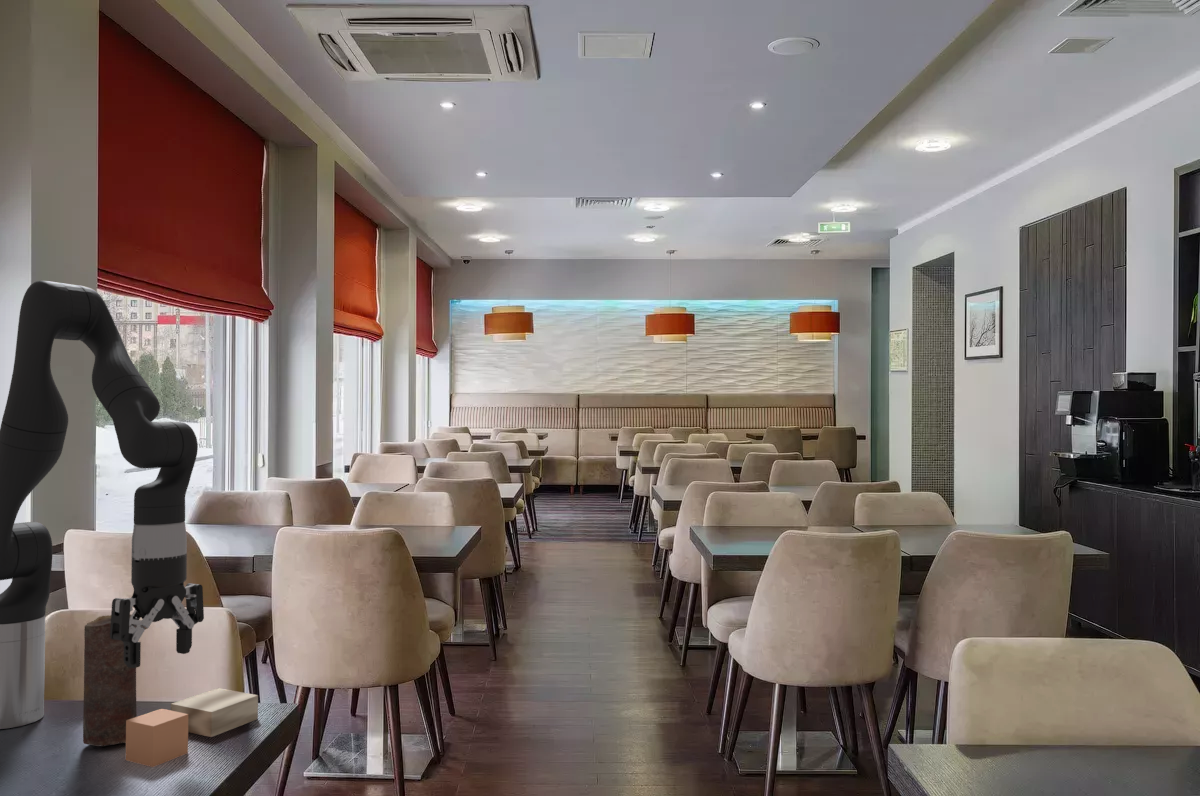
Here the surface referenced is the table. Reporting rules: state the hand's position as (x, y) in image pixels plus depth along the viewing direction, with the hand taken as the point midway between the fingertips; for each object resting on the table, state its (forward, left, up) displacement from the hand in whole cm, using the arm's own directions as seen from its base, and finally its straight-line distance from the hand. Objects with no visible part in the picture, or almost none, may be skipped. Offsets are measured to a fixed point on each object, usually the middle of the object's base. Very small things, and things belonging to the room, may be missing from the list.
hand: (158, 659), depth 133 cm
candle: (-11, 0, -15) cm, 18 cm away
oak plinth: (-4, +14, -15) cm, 21 cm away
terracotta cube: (0, 0, -15) cm, 15 cm away
